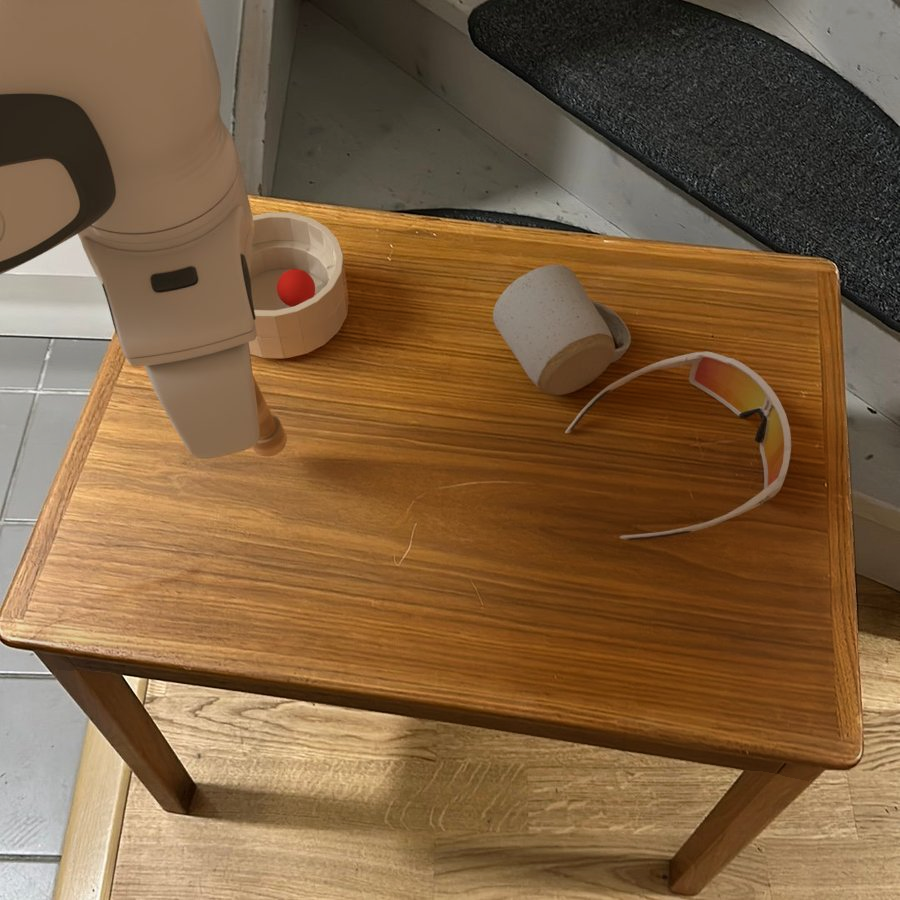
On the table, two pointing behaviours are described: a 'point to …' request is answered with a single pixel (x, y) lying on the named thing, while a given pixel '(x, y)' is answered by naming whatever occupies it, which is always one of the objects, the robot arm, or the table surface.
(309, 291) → the red ball
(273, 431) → the stir stick
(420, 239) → the table surface
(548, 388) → the ceramic mug
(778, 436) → the sunglasses
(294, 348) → the bowl
